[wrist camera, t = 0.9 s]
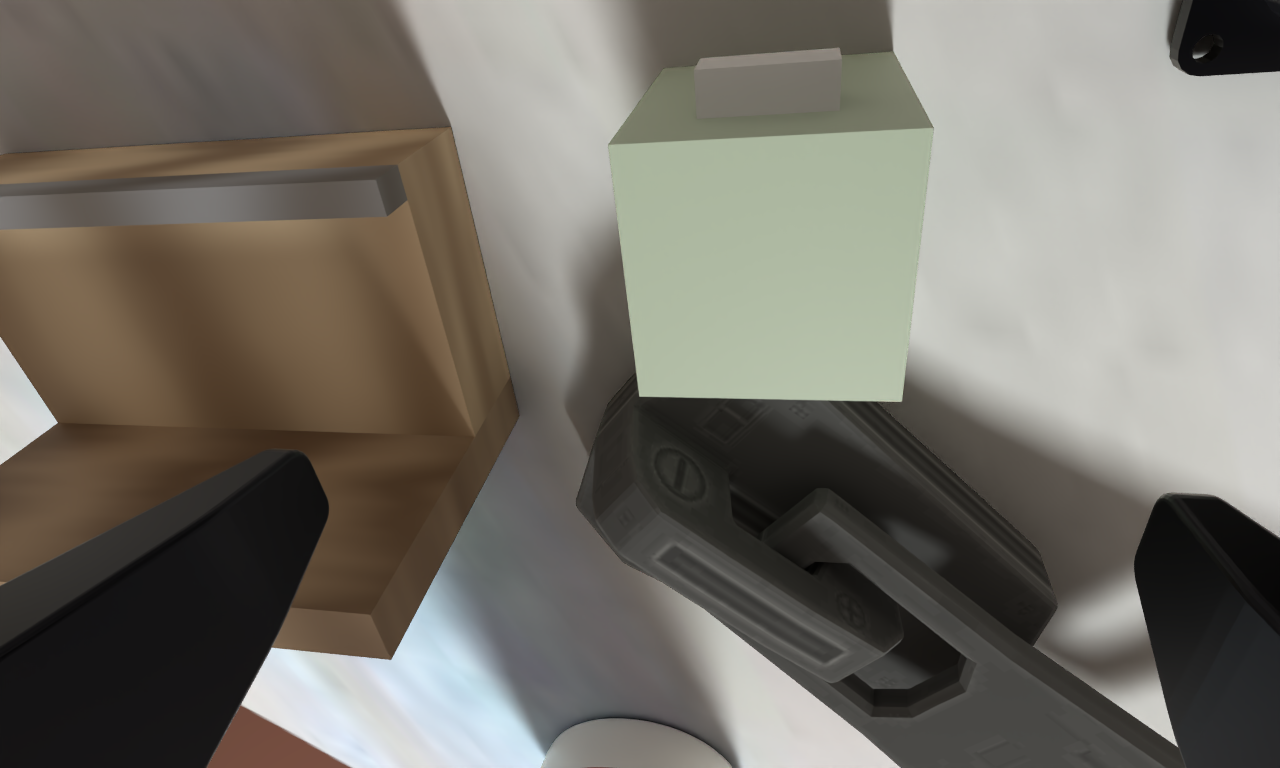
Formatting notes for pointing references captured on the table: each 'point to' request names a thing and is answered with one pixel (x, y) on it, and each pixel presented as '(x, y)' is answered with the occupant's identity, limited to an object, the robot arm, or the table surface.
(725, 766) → the fruit juice
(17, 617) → the robot arm
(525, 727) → the table surface
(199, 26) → the table surface
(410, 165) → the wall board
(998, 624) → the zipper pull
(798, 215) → the cabinet block
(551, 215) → the table surface
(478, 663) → the table surface
